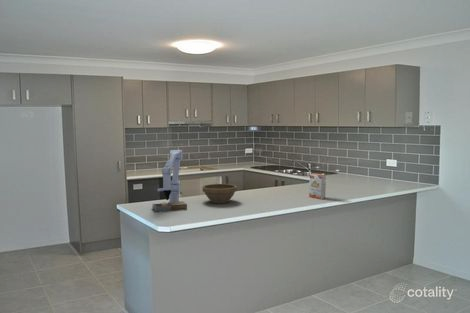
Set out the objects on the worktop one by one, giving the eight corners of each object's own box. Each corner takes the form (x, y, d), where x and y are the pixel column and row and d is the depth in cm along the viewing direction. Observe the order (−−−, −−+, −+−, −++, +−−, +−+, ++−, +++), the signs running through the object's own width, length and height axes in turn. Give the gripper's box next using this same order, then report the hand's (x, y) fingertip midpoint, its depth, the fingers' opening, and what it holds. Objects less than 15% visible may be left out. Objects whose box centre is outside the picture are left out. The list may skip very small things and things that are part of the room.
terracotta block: (162, 209, 313) (161, 209, 315) (167, 209, 315) (166, 208, 317) (162, 204, 312) (161, 204, 314) (167, 203, 314) (166, 203, 316)
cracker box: (308, 196, 365) (309, 173, 363) (313, 196, 369) (313, 173, 367) (320, 199, 354) (321, 175, 352) (325, 198, 358) (326, 174, 356)
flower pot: (197, 200, 351) (197, 184, 349) (227, 197, 364) (227, 182, 362) (211, 206, 326) (211, 190, 324) (242, 203, 339) (242, 187, 337)
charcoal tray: (152, 208, 319) (152, 204, 318) (167, 207, 323) (167, 202, 323) (155, 211, 308) (155, 207, 307) (171, 210, 312) (171, 206, 312)
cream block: (166, 207, 322) (163, 207, 321) (166, 202, 321) (162, 202, 320) (167, 208, 318) (164, 208, 317) (167, 203, 318) (164, 203, 317)
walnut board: (168, 207, 323) (168, 202, 323) (182, 206, 328) (182, 201, 327) (171, 210, 312) (171, 205, 312) (186, 209, 317) (186, 204, 316)
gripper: (158, 184, 312) (159, 201, 313) (177, 182, 317) (177, 200, 318) (156, 182, 318) (157, 199, 320) (175, 181, 324) (175, 198, 325)
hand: (167, 199), depth 319 cm, fingers closed
